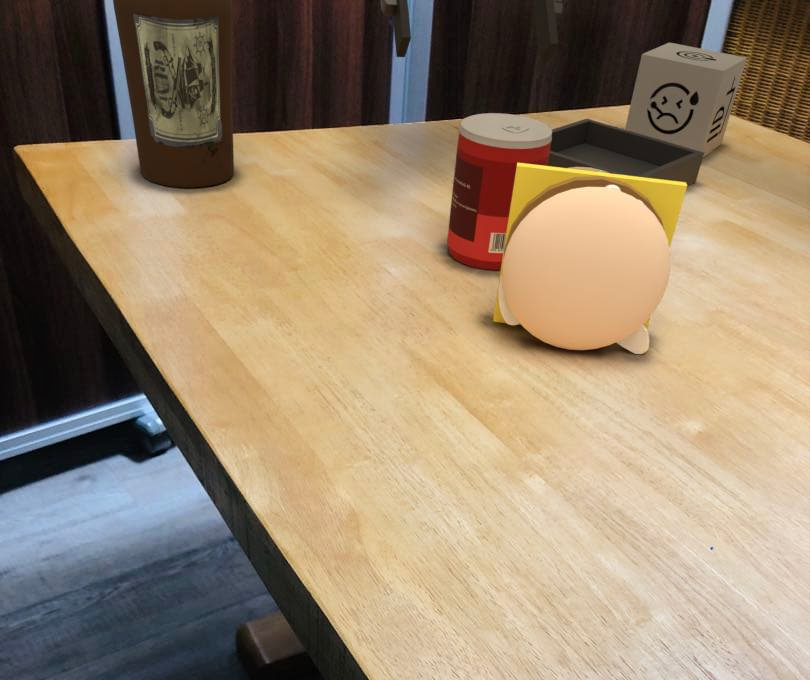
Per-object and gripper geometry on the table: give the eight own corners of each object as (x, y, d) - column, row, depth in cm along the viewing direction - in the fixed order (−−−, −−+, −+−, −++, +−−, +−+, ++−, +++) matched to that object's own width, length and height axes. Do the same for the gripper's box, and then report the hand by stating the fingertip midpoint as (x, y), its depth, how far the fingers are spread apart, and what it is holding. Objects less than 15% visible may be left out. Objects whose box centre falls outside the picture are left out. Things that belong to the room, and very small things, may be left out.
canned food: (545, 253, 80) (568, 127, 73) (503, 279, 75) (524, 147, 68) (474, 230, 83) (490, 106, 76) (429, 254, 78) (442, 124, 71)
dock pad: (695, 182, 100) (704, 152, 97) (629, 213, 90) (636, 180, 88) (581, 146, 107) (586, 118, 104) (508, 172, 97) (512, 141, 95)
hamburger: (489, 353, 65) (514, 190, 57) (494, 305, 71) (518, 152, 63) (649, 374, 64) (697, 212, 56) (640, 323, 71) (682, 172, 63)
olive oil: (133, 156, 92) (95, -143, 75) (233, 155, 94) (218, -134, 78) (136, 192, 84) (95, -132, 68) (246, 190, 87) (232, -122, 70)
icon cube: (721, 143, 112) (747, 57, 106) (698, 161, 106) (723, 71, 99) (648, 126, 116) (669, 42, 109) (621, 142, 109) (642, 54, 103)
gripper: (567, -129, 85) (589, 79, 84) (314, -151, 80) (334, 71, 78) (599, -199, 77) (624, 29, 76) (323, -228, 72) (345, 16, 71)
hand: (477, 51), depth 77 cm, fingers open, 13 cm apart
